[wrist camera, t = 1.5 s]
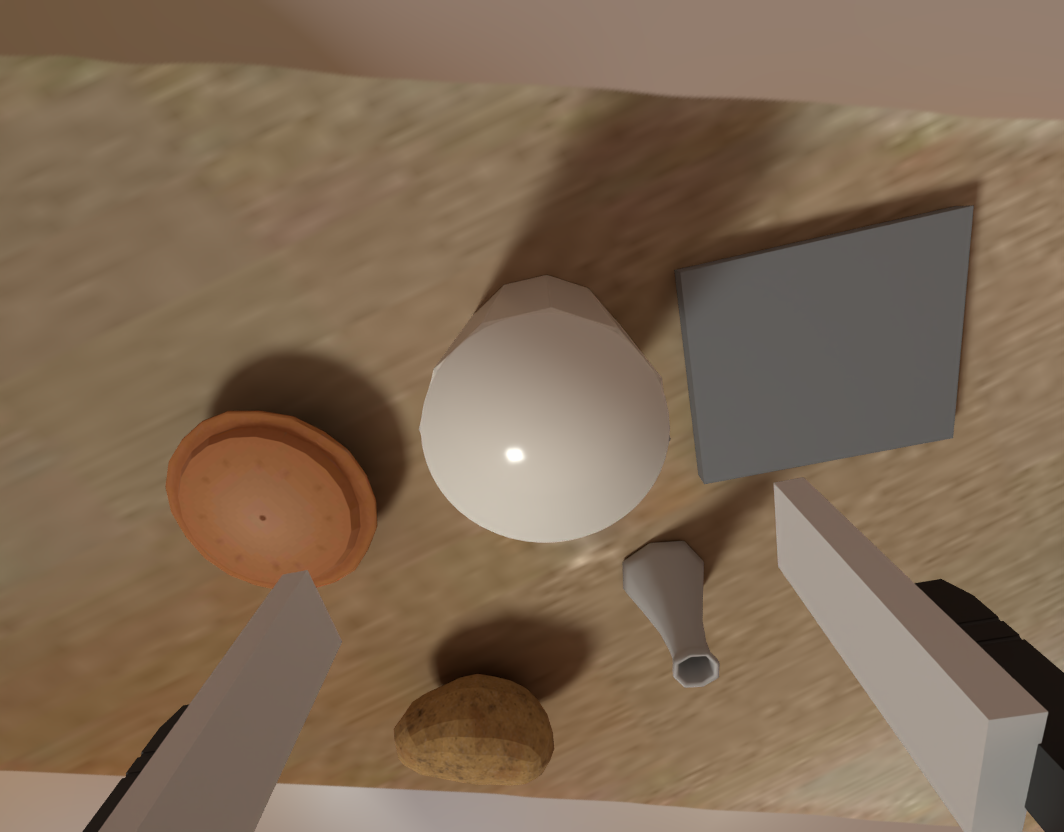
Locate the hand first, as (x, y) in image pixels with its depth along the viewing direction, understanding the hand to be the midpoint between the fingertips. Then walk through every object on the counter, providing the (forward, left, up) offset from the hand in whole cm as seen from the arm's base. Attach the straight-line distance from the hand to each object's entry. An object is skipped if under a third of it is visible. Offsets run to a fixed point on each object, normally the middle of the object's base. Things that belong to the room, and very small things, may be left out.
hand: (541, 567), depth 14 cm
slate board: (-19, +4, -24) cm, 31 cm away
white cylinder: (0, 0, -24) cm, 24 cm away
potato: (+13, +31, -24) cm, 41 cm away
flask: (-6, +21, -24) cm, 32 cm away
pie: (+22, +6, -24) cm, 33 cm away
